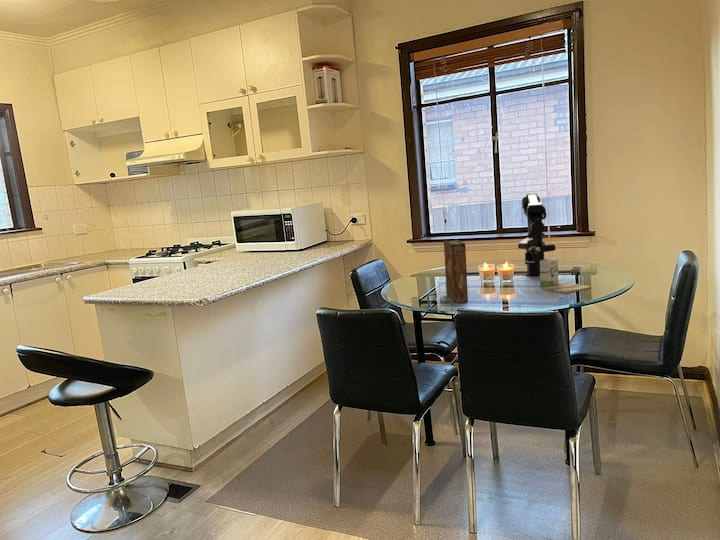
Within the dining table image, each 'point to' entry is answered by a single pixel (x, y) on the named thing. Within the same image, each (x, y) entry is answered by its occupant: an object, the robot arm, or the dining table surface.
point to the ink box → (548, 272)
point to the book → (456, 271)
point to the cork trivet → (566, 288)
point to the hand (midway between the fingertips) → (536, 264)
